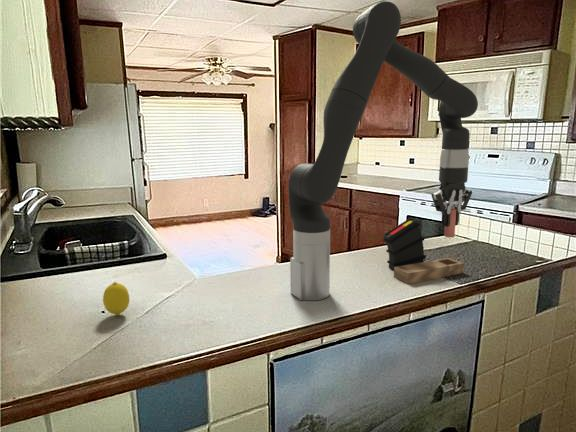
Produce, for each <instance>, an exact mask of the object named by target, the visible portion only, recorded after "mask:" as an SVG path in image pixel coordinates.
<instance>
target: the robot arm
mask: <svg viewBox="0 0 576 432" xmlns="http://www.w3.org/2000/svg"><path fill="white" fill-rule="evenodd" d="M401 24H402V16H401V12H400V9H399V8H398V6H397V5H396V4H395V3H393V2H392V1H388V0H387V1H386V0H383V1H379V2H377V3H375V4H373V5H372V6H370V7H368V8H367V9H366V10H365V11H363V12H362V13H361V14H359V15H358V17H356V18H355V20H354V22H353V25H352V34H353V36H354V40H355V41H356V42H357V44H358V47H357V49H356V50H355V53H354V54H353V56H352V58H351V59H350V61H349V62H348V63H347V64H346V66H345V67H344V69H343V71H341V73H340V75H339V76H338V78H337V79H336V81H335V83H334V85H333V87H332V89H331V91H330V93H329V96H328V99H327V101H326V103H325V106H324V110H323V141H322V144H321V148H320V150H319V152H318V155H317V157H316V160H315V161H314V163H300V164H298V165H297V166H295V167H294V168H293V169H292V171H291V173H290V175H289V178H288V202H289V203H288V204H289V207H288V208H289V215H290V219H291V221H292V229H293V231H292V234H293V235H292V236H293V237H292V238H293V239H292V242H293V243H292V245H293V246H292V247H293V249H292V250H293V251H292V253H293V256H292V257H291V256H290V259H289V260H290V265H289V266H290V267H289V270H290V280H289V281H290V293H291V294H292V295H293V296H294V297H295V298H297V299H298V300H299V301H319V300H324V299H327V298H328V297H329V296H330V288H331V287H330V283H331V282H330V280H331V277H330V276H331V271H330V270H331V269H330V268H331V266H330V263H331V260H330V259H331V219H330V217H329V216H328V214H327V213H325V211H324V209H323V207H322V204H326V203H327V202H329V201H330V200H331V199H332V198H333V196H335V193H336V191H337V189H338V186H339V184H340V183H339V182H340V180H341V175H342V172H343V169H344V166H345V162H346V158H347V156H348V153H349V150H350V148H351V144H352V142H353V140H354V136H355V134H356V131H357V129H358V126H359V124H360V123H361V119H362V117H363V115H364V112H365V109H366V107H367V105H368V102H369V100H370V96H371V94H372V91H373V89H374V87H375V84H376V81H377V79H378V77H379V74H380V70H381V68H382V65H383V63H384V62H385V63H386V64H388V65H390V66H391V67H392V68H394V69H395V70H397V71H398V72H399V73H400V74H402V75H403V76H405V77H406V78H407V79H408V80H409V81H410V82H412V83H413V84H414V85H415V86H416V87H417V88H418V89H419V90H421V92H422V93H424V95H426V96H427V97H429V98H430V99H432V100H436V101H439V106H438V117H439V122H440V128H441V133H442V139H441V140H442V141H441V153H440V158H439V170H438V175H439V176H438V181H439V183H440V186H439V189H438V191H436V192H431V199H432V201H433V204H434V208H435V210H436V212H438V213H439V212H440V213H441V225H442V226H443V227H445V226H446V227H449V226H450V214H449V213H450V210H451V206H452V205H454V206H455V209H456V222H455V227H456V226H458V225H459V223H460V215H461V214H460V213H461V212H462V211H465V210H466V209H467V207H468V204H469V202H470V199H471V197H472V194H473V191H472V189H471V190H470V189H467V188H466V185H465V184H466V183H467V182H468V177H469V175H468V173H469V163H470V162H469V161H470V154H469V153H470V152H469V151H470V150H469V148H470V130H469V128H467V127H464V126H463V124H462V123H463V122H462V119H465V118H469V117H471V116H473V115H474V114H475V113H476V112H477V110H478V107H479V106H478V105H479V100H478V98H477V96H476V94H475V93H474V92H473V90H471V89H470V88H468V87H467V86H465V85H464V84H462V83H460V82H459V81H457V80H455V79H453V78H451V76H449V75H448V74H447V73H446V72H445V71H444V70H443V69H442V68H441V67H440V66H439V65H438V64H437V63H435V62H434V60H432V59H430V58H429V57H427V56H426V55H423V54H421V53H419V52H417V51H414V50H412V49H409V48H408V47H406V46H404V45H403V44H401V43H400V42H398V41H397V40H396V39H397V36H398V34H399V33H400V31H401V29H400V28H401Z"/></svg>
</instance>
